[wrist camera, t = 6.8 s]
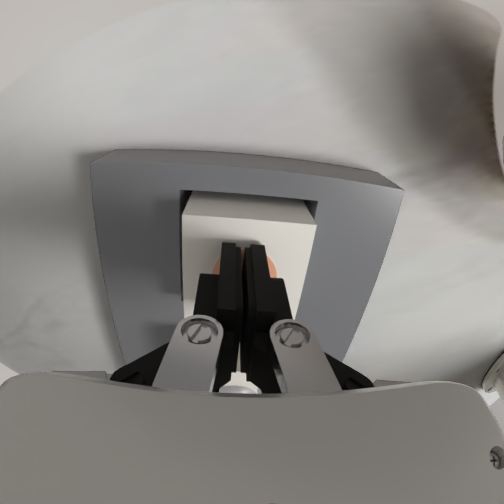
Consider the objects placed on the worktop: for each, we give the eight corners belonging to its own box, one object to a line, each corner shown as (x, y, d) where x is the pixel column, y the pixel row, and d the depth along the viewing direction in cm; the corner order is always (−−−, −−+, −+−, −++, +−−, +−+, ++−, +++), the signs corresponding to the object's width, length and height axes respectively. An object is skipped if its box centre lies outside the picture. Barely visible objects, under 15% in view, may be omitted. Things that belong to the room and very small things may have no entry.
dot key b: (297, 191, 15) (317, 225, 11) (282, 275, 17) (293, 325, 13) (196, 183, 14) (181, 215, 11) (194, 270, 17) (184, 319, 13)
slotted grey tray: (378, 172, 15) (404, 190, 12) (300, 406, 25) (304, 432, 23) (115, 149, 14) (90, 163, 11) (152, 399, 24) (147, 426, 22)
